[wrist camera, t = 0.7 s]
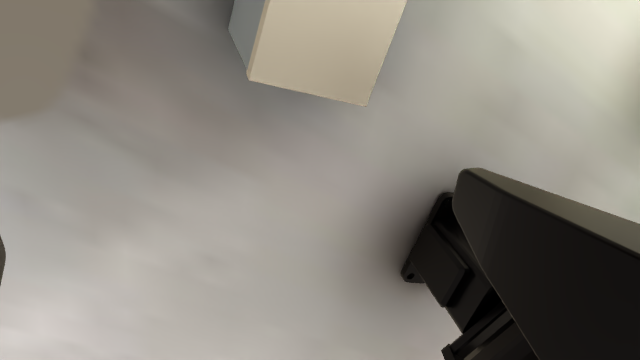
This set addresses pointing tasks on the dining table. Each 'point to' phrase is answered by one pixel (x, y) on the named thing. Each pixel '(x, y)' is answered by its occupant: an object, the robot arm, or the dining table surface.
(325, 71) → the grey and beige block
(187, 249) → the dining table surface
